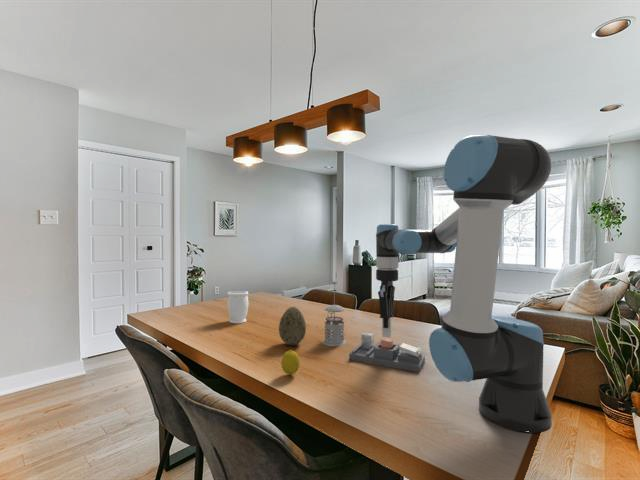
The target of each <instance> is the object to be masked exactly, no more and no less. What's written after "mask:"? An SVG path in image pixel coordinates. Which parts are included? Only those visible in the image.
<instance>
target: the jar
mask: <svg viewBox="0 0 640 480" xmlns="http://www.w3.org/2000/svg"><path fill="white" fill-rule="evenodd" d="M248 295H249V291H247V290H230V291H228V292H227V296H228V297H227V304H226V307H227V311H228V316H229V318H230V319H229V323H230V324H244V323H246V322H247V315H248V311H249V296H248Z"/></svg>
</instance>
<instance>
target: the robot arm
mask: <svg viewBox="0 0 640 480" xmlns="http://www.w3.org/2000/svg"><path fill="white" fill-rule="evenodd" d="M443 168H444V169H443V180H444V181H445V185H446V187H447V188H448V189H450V190H451V191H452V192H453V198H452V200H453V202H455V203H456V205H458V208H457V209H456V210H455V211H453V213H451V214H450V215H449V216H447V217H446V218H445V219H444V220H443V221H442V222H441V223H439V224H438V225H437V226H436V227H433V229H406V228H405V229H399V226H398V225H397V224H394V223H393V224H389V223H388V224H385V223H384V224H378V225H377V226H376V233H375V238H376V239H375V244H376V245H375V246H376V248H375V250H376V252H375V254H376V257H375V259H374V261H375V262H376V268H377V269H375V270H376V271H375V279H376V280H377V281H380V283H381V284H380V286H379V290H378V292H377V294H378V298H379V300H378V301H379V302H378V303H379V313H380V314H379V315H380V316H379V318H380V319H382V324H381V326H382V329H381V332H382V334H381V335H382V336H381V337H382V338H387V339H391V337H392V318H394V304H395V303H394V302H395V292H396V287H395V286H394V282H397V281H398V280H399V270H398V268H399V254H401V255H412V254H445V253H452V252H454V251H455V252H454V253H455V254H454V255H455V256H454V265H453V276H452V277H453V278H452V286H451V297H450V307H449V308H450V309H449V310H448V311H447V312H446V313H444V314H443V315H442V317H441V319H442V320H441V327H438V328H435V329H434V330H432V332H430V335H429V337H428V338H429V340H428V347H429V353H430V356H431V359H432V361H433V362H434V366H435V367H436V369H437V370H438V371H439V373H440V374H441V376H443V377H444V378H446V379H447V380H449V381H451V382H454V383H461V382H465V383H471V382H472V381H478V380H485V382H484V385H483V387H482V389H481V392H480V395H479V397H478V410H479V412H480V413H481V414H482V415H483V416H484V418H486V419H487V420H489V421H491V422H493V424H496V425H498V426H501V427H503V428H506V429H509V430H512V431H516V430H517V432H520V431H523V432H522V433H525V432H524V431H529V432H532V433H531V434H537V433H544V432H547V431H549V430H550V429H551V428H552V424H553V423H552V420H553V417H552V412H551V409H550V406H549V403H548V399H547V398H546V395H545V392H544V390H543V388H544V387H543V386H544V385H543V384H544V381H543V380H544V345H545V342H544V331H543V329H542V328H541V327H540V326H539V325H537V324H535V323H532V322H530V321H527V320H526V321H525V320H522V319H519V318H518V319H517V318H512V317H506V316H500V315H493V307H494V297H495V289H496V280H497V273H498V262H499V253H500V247H501V246H500V244H501V235H502V228H503V227H502V226H503V219H504V218H503V217H504V210H505V209H507V208H508V207H510V206H511V205H512V206H513V205H514V206H517V205H520V204H522V203H523V202H525V201H527V200H528V199H530V198H531V197H533V196H534V195H535V194H536V193H538V191H540V190H541V189H542V188H543V186H545V184H546V182H547V181H548V180H549V177H550V174H551V171H552V159H551V156H550V155H549V152H548V150H547V149H546V148H545V147H544V146H543V145H542V144H540V143H539V142H536V141H534V140H531V139H525V138H512V137H507V136H506V137H505V136H497V135H493V134H476V135H475V134H472V135H468V136H465V137H464V138H462V139H461V140H458V142H457V143H456V144H455V145H454V147H453V148H452V149H451V150H450V151H449V154H448V155H447V158H446V161H445V163H444V167H443Z"/></svg>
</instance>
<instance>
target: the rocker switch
mask: <svg viewBox="0 0 640 480" xmlns="http://www.w3.org/2000/svg"><path fill="white" fill-rule="evenodd" d="M399 351H400V352H401V351H403V352H406V353H409V354H411V355H414V356H417V357H419V355H420V353H421V354H422V348H421V347H420V346H418V347H416V346H413V345H410V344H408V343H404V342H402V343H401V344H400V345H399Z"/></svg>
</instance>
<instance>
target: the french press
mask: <svg viewBox="0 0 640 480" xmlns="http://www.w3.org/2000/svg"><path fill="white" fill-rule="evenodd" d="M337 284H338V282H337V281H336V280H333V281H332V285H333V287H334V288H333V302H334V303H333V304H330V305H327V306H326V307H324V311H326V312H327V314H330V316H327V317H326V318H325V320H326V321H324V339H323V341H322V344H323V345H325V346H328V347H342V346H345V345H346V344H347V341H346V340H345V329H344V328H345V322H344V318H343V317H341V316H340V317H339V316H335V313H341V312H344V311H345V308H344V307H343V306H341V305H339V304H335V303H336V301H335V300H336V299H335V297H336V294H335V293H336V291H335V290H336V287H335V286H336V285H337Z"/></svg>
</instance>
